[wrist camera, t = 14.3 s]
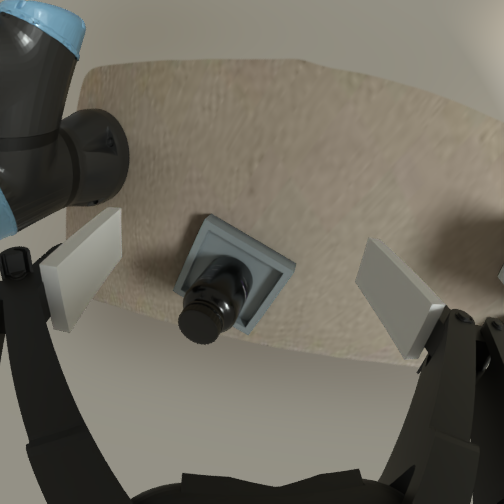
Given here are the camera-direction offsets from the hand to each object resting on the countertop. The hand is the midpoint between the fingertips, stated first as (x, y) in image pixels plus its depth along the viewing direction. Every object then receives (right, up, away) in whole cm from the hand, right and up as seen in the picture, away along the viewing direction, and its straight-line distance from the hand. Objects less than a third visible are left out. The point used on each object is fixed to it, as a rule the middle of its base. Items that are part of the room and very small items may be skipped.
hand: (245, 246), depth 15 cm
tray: (-2, -3, +28) cm, 28 cm away
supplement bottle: (-3, -4, +27) cm, 27 cm away
